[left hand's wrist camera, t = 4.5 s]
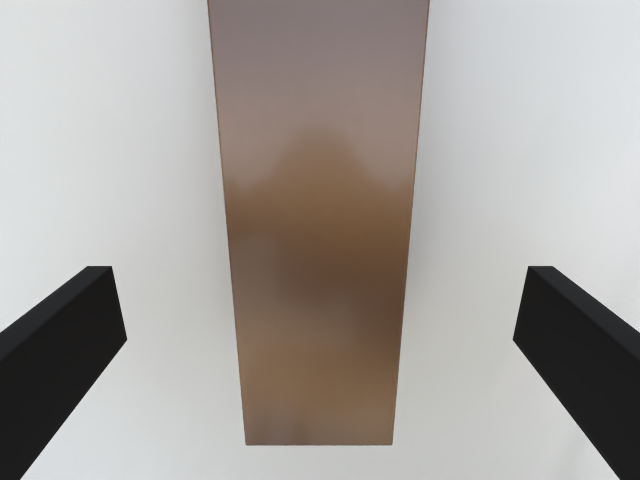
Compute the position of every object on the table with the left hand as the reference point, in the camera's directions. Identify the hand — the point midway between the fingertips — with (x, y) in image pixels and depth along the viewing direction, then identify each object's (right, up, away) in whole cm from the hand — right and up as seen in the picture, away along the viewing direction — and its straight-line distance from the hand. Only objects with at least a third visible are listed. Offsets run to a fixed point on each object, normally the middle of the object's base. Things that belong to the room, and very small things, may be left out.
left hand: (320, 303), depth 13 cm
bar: (0, +26, -1) cm, 26 cm away
